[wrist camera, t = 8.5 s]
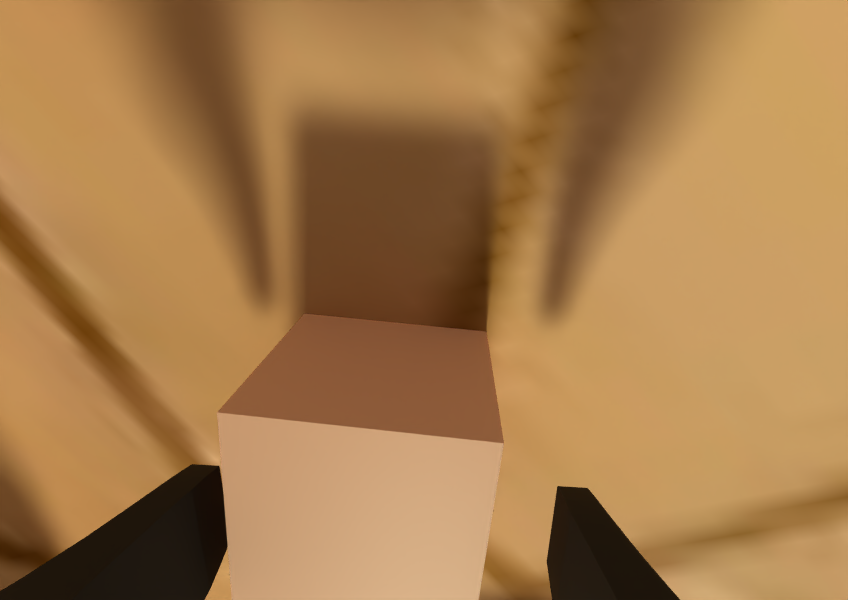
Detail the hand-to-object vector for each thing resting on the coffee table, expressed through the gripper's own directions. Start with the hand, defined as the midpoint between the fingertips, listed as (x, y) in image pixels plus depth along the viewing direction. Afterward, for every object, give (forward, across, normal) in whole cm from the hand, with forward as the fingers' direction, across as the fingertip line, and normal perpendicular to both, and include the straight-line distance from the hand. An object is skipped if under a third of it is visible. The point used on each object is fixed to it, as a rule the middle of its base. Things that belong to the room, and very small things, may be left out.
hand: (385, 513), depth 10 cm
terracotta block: (+4, 0, 0) cm, 4 cm away
